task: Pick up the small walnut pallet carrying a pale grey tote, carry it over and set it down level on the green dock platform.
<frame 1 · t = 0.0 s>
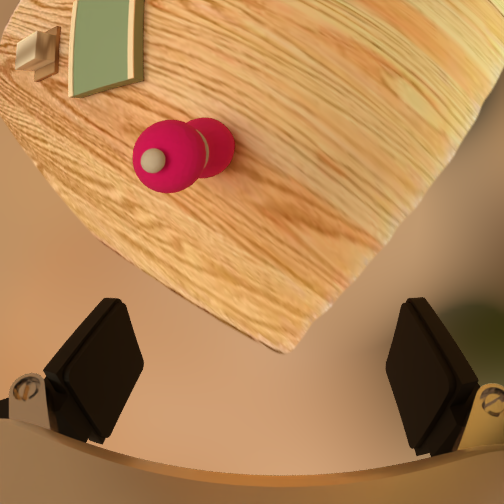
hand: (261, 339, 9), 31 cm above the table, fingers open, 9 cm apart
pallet: (49, 54, 32), on the table
pepper mill: (211, 145, 37), on the table
dock: (110, 38, 31), on the table
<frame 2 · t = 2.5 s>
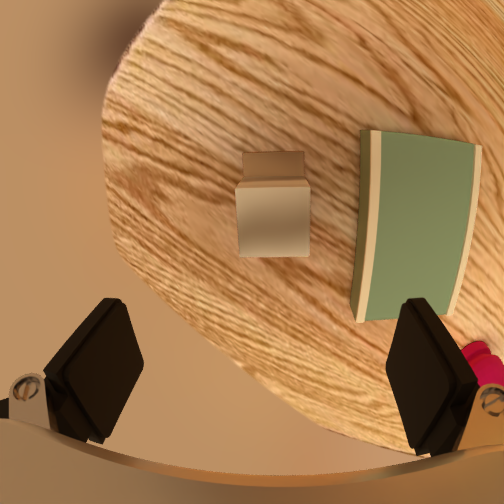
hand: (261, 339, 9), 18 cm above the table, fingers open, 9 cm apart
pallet: (275, 202, 26), on the table
pepper mill: (468, 356, 31), on the table
dock: (410, 224, 25), on the table
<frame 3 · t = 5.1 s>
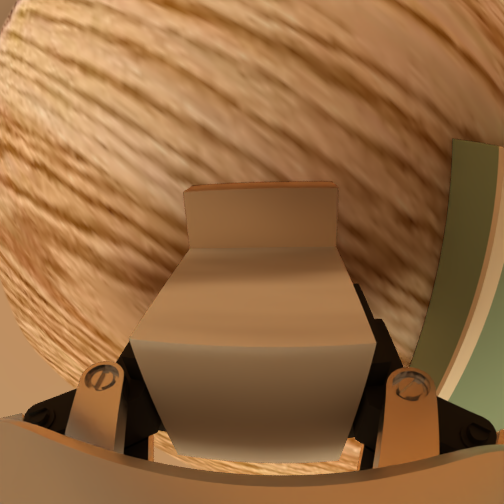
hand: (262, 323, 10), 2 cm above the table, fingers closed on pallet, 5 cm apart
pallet: (265, 293, 12), on the table, touching gripper
dock: (500, 314, 12), on the table
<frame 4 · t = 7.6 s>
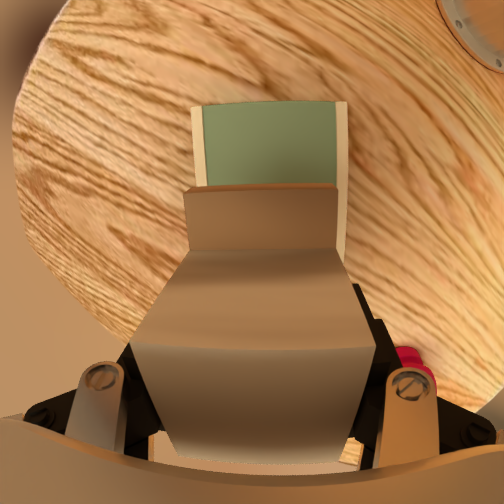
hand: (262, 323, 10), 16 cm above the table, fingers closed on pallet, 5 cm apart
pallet: (265, 295, 12), point 14 cm above the table, touching gripper
pepper mill: (395, 364, 31), on the table
dock: (273, 206, 25), on the table
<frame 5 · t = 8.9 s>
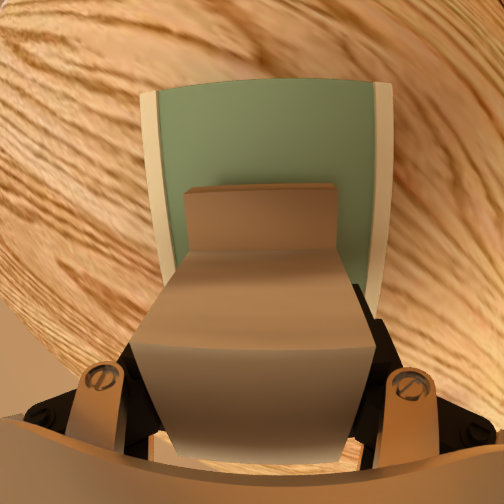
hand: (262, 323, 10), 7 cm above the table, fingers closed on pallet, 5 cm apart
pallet: (265, 295, 12), point 5 cm above the table, touching gripper
dock: (272, 241, 17), on the table
when the fingers open (6 cm above the table, at t = 10.1 s): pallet stays where it is, resting on dock.
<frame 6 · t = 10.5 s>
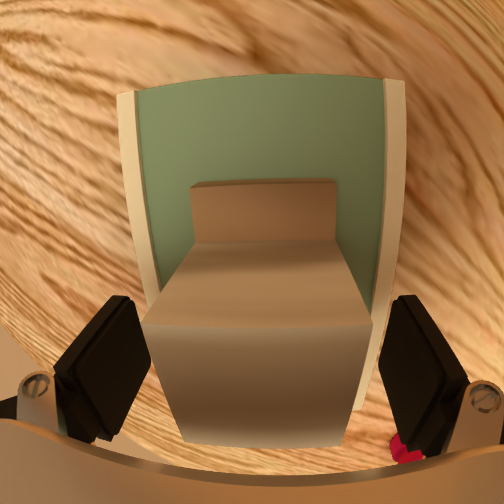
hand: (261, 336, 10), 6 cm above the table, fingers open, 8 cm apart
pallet: (268, 286, 13), point 3 cm above the table, touching dock
pepper mill: (418, 432, 21), on the table
dock: (268, 258, 15), on the table
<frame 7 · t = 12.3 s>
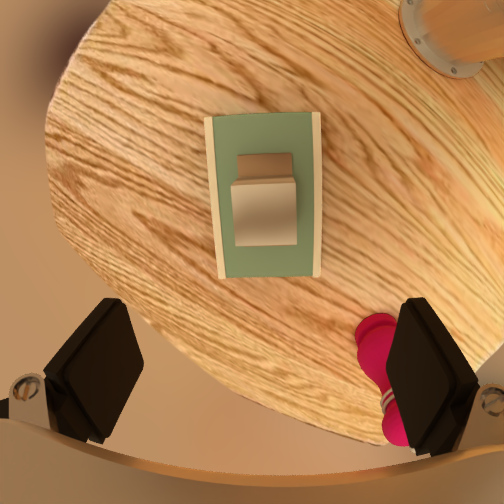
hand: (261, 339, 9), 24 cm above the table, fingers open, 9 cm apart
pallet: (266, 198, 29), point 3 cm above the table, touching dock
pepper mill: (375, 330, 38), on the table
dock: (267, 193, 32), on the table
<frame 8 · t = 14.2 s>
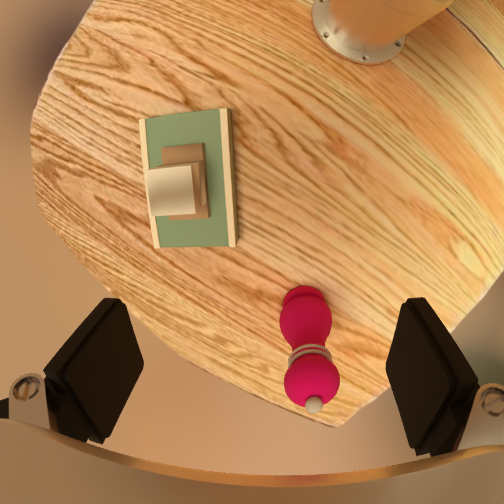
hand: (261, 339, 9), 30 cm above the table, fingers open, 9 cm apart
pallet: (187, 181, 35), point 3 cm above the table, touching dock
pepper mill: (303, 302, 44), on the table
dock: (193, 177, 38), on the table
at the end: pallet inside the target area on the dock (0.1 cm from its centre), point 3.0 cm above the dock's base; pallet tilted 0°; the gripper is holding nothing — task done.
